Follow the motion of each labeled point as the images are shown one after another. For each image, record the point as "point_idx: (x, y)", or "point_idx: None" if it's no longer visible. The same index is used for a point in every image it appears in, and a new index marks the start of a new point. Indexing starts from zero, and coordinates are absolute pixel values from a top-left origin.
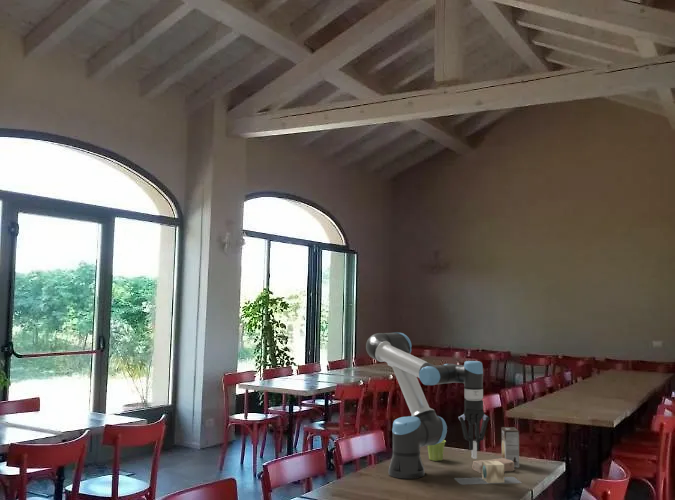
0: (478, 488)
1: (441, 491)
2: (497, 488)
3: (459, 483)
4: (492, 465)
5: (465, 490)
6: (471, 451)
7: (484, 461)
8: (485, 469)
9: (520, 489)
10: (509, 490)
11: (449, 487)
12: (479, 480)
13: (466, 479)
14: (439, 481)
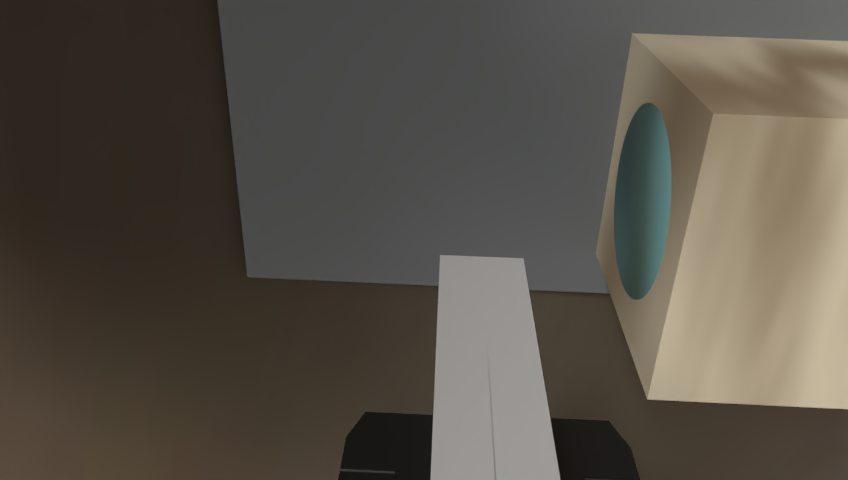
0: (418, 385)
1: (25, 425)
2: (616, 408)
3: (243, 236)
4: (736, 398)
5: (265, 426)
6: (437, 334)
7: (749, 152)
8: (640, 267)
9: (829, 461)
10: (698, 474)
11: (115, 319)
12: (544, 138)
13: (382, 65)
14: (3, 61)
